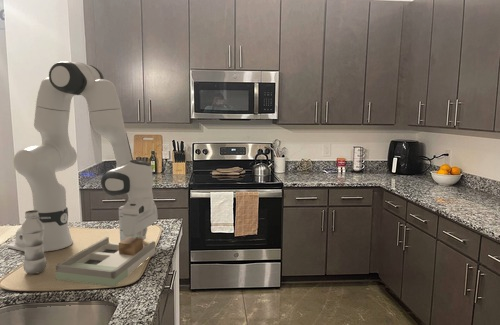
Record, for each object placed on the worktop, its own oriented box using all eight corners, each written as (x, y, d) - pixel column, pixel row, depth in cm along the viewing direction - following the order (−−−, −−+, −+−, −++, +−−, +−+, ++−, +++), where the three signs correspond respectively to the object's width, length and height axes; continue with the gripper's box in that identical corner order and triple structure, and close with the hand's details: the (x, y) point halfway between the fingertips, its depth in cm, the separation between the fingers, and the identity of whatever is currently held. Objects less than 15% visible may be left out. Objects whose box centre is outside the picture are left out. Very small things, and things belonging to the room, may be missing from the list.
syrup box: (133, 243, 147) (132, 207, 145) (119, 242, 148) (118, 206, 146) (140, 238, 153) (139, 204, 151) (126, 237, 154) (125, 203, 152)
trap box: (56, 279, 115) (55, 265, 115) (106, 248, 142) (106, 236, 141) (114, 286, 111) (114, 272, 111) (155, 253, 138) (155, 241, 137)
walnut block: (119, 254, 130) (118, 243, 129) (128, 247, 136) (127, 237, 135) (134, 255, 129) (134, 244, 128) (143, 249, 134) (143, 238, 134)
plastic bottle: (31, 278, 116) (26, 215, 113) (19, 272, 119) (15, 212, 117) (51, 270, 121) (47, 211, 118) (39, 266, 125) (36, 207, 122)
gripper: (146, 197, 148) (147, 230, 150) (118, 210, 128) (119, 248, 130) (161, 198, 147) (161, 232, 149) (135, 211, 127) (136, 250, 129)
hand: (141, 240), depth 139 cm, fingers closed
